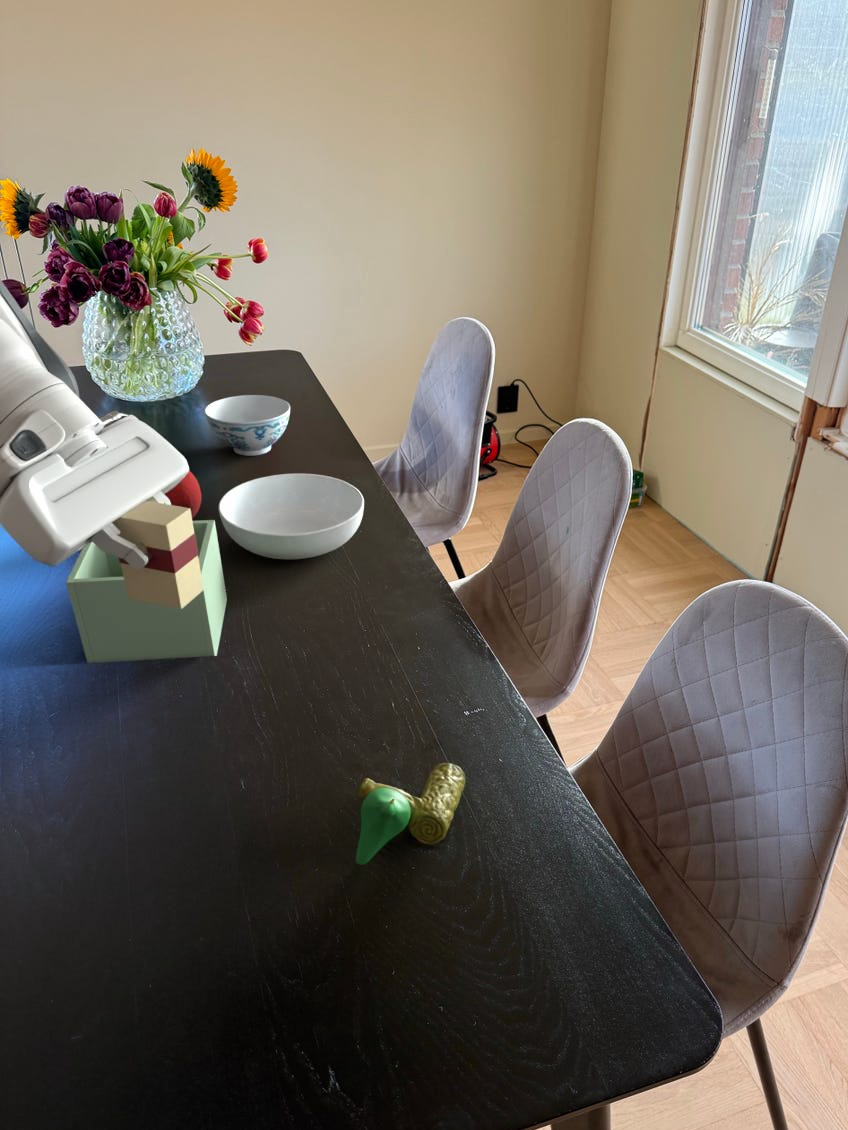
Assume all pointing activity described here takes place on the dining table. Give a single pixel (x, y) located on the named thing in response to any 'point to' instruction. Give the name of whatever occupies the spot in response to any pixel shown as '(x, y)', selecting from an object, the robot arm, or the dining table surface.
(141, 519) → the chocolate box
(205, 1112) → the dining table surface
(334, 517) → the serving bowl
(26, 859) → the dining table surface
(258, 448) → the chinaware
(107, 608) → the trash bin
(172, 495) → the apple
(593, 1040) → the dining table surface
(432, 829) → the bird figurine
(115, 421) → the robot arm
